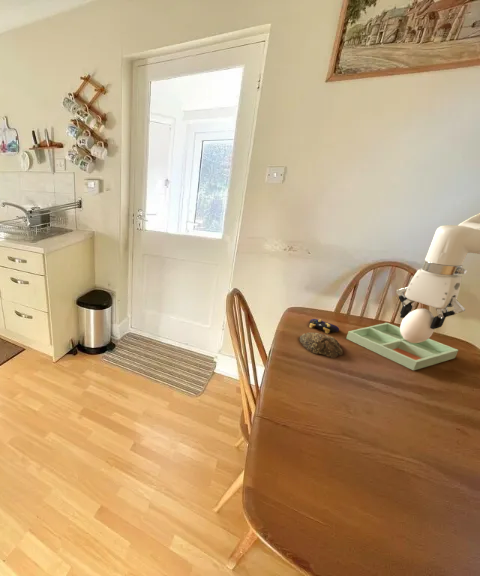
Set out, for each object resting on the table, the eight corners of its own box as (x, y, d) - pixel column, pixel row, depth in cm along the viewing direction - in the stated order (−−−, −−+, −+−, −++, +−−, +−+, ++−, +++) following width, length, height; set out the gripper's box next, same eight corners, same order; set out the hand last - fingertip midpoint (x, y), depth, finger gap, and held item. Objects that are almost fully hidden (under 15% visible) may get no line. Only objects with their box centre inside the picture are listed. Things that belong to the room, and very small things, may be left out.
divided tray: (384, 330, 120) (387, 322, 119) (454, 359, 102) (458, 349, 101) (345, 339, 115) (348, 331, 113) (412, 371, 96) (417, 362, 95)
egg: (419, 338, 102) (433, 305, 98) (432, 350, 96) (447, 315, 91) (391, 334, 105) (403, 302, 100) (402, 345, 98) (415, 312, 94)
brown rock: (296, 336, 117) (299, 324, 116) (336, 342, 113) (339, 330, 111) (304, 354, 106) (307, 341, 104) (348, 361, 102) (352, 348, 100)
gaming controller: (340, 329, 120) (338, 322, 116) (333, 340, 119) (331, 334, 116) (312, 319, 127) (310, 313, 124) (306, 330, 127) (303, 324, 123)
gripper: (490, 275, 85) (463, 333, 91) (413, 259, 100) (394, 309, 106) (473, 279, 82) (447, 337, 89) (397, 261, 98) (379, 312, 104)
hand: (419, 322), depth 98 cm, fingers closed on egg, 7 cm apart
